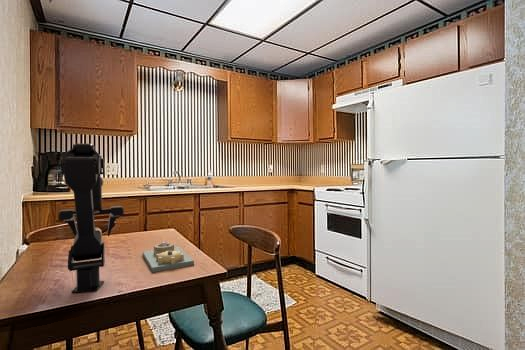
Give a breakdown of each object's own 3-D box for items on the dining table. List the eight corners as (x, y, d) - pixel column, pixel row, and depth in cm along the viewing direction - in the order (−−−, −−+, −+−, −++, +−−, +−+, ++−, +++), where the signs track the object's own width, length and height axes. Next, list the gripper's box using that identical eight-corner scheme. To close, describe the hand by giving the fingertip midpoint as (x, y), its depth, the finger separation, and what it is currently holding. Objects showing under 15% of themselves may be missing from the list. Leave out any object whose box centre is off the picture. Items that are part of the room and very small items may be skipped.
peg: (166, 253, 113) (166, 243, 112) (161, 253, 112) (160, 243, 112) (167, 251, 115) (167, 241, 114) (161, 252, 114) (161, 242, 114)
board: (193, 264, 104) (193, 252, 103) (152, 272, 96) (152, 258, 96) (178, 249, 123) (178, 239, 122) (142, 255, 116) (142, 244, 115)
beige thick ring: (175, 253, 112) (175, 245, 112) (156, 256, 109) (156, 248, 109) (171, 249, 118) (171, 241, 118) (153, 252, 115) (152, 244, 115)
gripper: (120, 189, 110) (121, 230, 111) (60, 191, 101) (62, 236, 101) (123, 191, 101) (124, 236, 101) (57, 194, 91) (58, 243, 92)
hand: (93, 237), depth 99 cm, fingers open, 9 cm apart
